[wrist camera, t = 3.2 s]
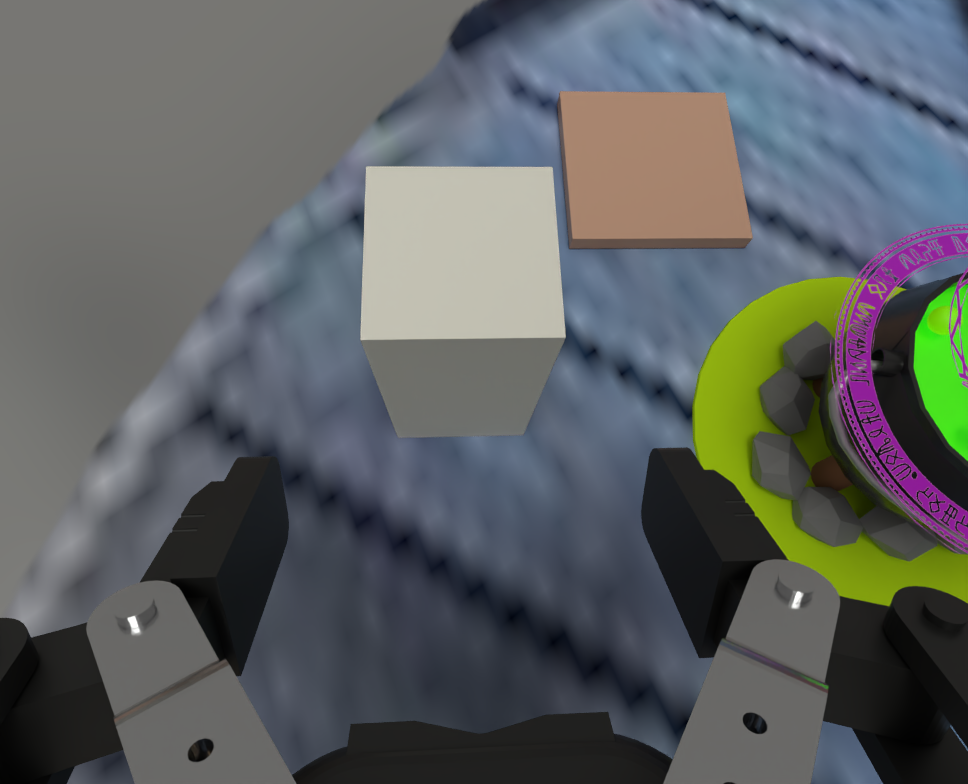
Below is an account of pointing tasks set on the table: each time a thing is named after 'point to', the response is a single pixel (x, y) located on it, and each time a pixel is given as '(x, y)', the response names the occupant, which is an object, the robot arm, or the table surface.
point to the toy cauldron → (850, 423)
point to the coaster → (651, 171)
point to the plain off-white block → (461, 296)
